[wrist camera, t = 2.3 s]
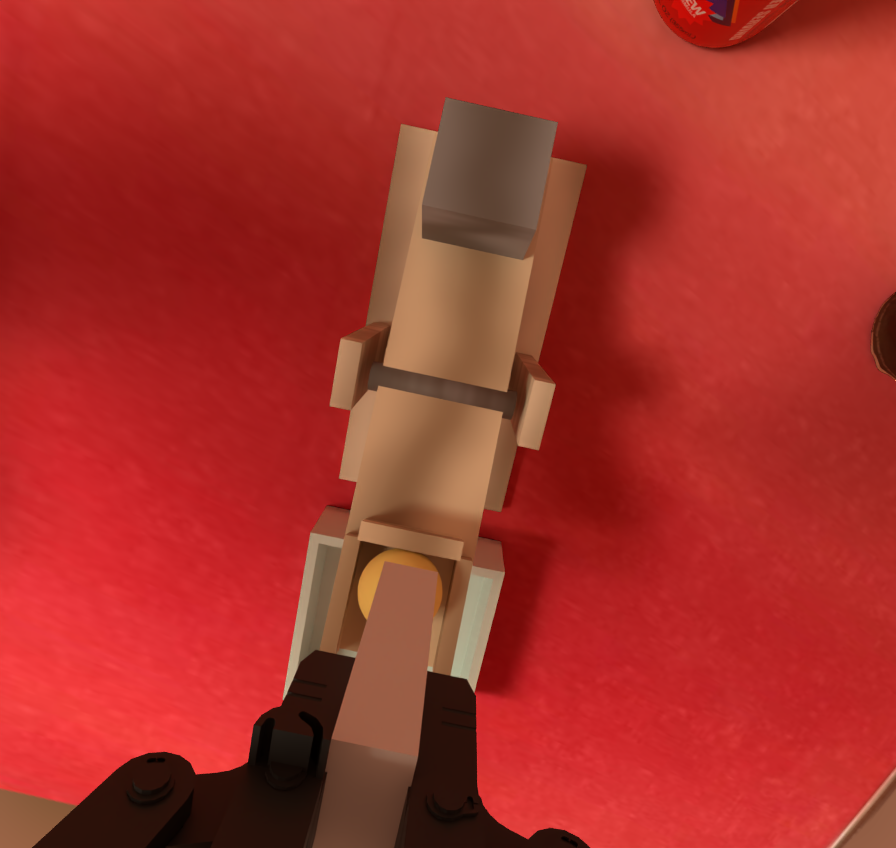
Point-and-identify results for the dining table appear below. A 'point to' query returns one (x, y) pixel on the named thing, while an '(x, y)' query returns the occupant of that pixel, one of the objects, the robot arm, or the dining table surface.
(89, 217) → the dining table surface
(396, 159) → the catapult base
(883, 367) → the coffee cup
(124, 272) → the dining table surface
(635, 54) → the dining table surface
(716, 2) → the soda can
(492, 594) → the shallow square tray
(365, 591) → the ball
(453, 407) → the lever
